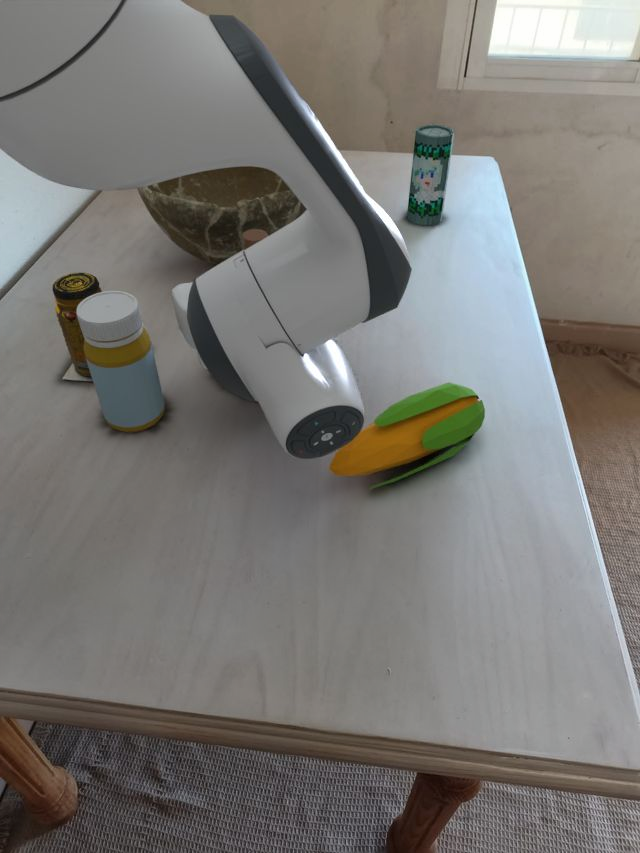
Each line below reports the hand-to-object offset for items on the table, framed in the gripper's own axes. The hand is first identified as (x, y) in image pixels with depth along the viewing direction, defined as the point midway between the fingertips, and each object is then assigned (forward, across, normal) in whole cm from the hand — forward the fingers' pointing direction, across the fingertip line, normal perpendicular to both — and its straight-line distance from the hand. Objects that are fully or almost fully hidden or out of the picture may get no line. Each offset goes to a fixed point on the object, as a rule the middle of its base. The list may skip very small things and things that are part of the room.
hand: (255, 265), depth 73 cm
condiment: (+4, +20, +14) cm, 25 cm away
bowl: (+28, -2, +14) cm, 32 cm away
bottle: (-6, +17, +14) cm, 23 cm away
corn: (-22, -12, +14) cm, 28 cm away
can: (+34, -37, +14) cm, 52 cm away
